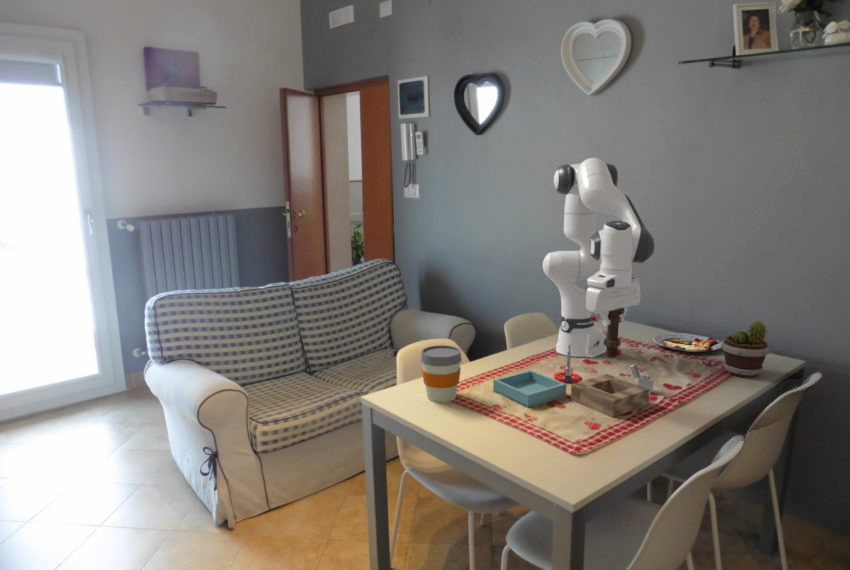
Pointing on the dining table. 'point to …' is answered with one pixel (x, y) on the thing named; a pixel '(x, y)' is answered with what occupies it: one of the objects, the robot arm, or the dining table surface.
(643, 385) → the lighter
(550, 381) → the tray
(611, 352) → the bolt
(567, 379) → the red valve handwheel
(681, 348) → the food plate
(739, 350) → the flowerpot
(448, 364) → the reusable coffee cup
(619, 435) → the dining table surface
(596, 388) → the socket block
